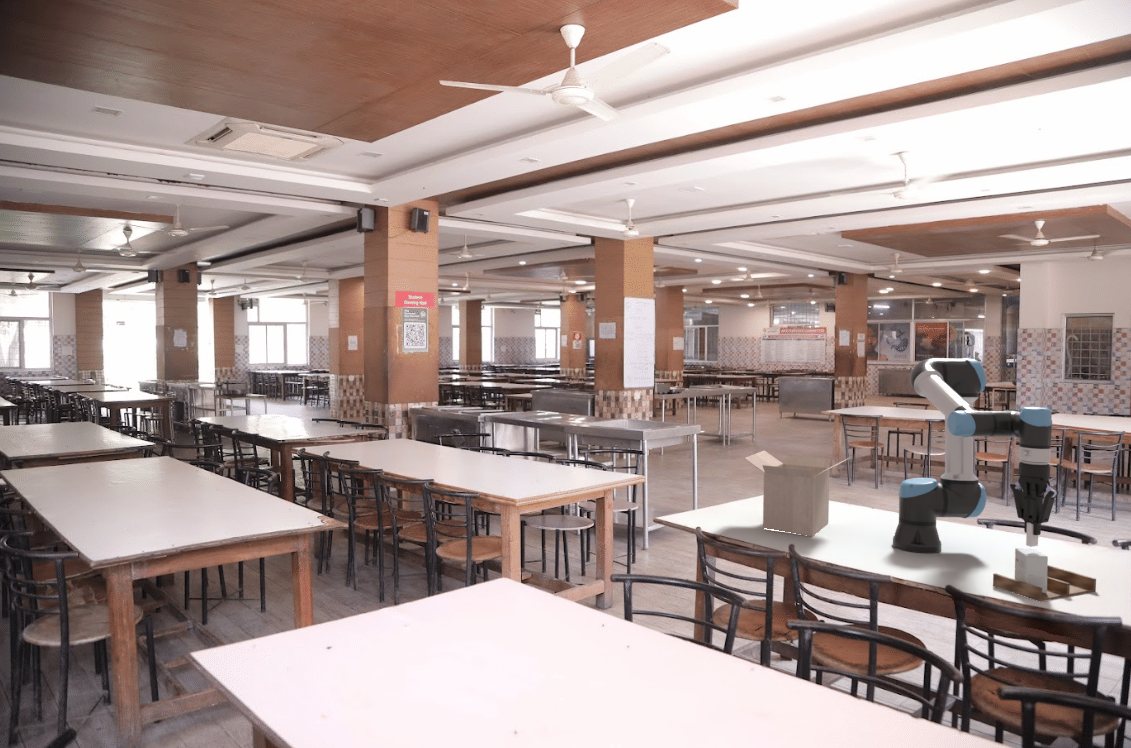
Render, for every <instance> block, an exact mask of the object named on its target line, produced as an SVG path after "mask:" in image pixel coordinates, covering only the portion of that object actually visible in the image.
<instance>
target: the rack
mask: <svg viewBox="0 0 1131 748" xmlns="http://www.w3.org/2000/svg"><path fill="white" fill-rule="evenodd" d="M992 575H993V576H992V577H993V578H992V581H993V583H992V586H993V587H995V588H998V589H1001V590H1004V591H1007V592H1010V593H1012V592H1013V594H1016V595H1018V594H1019V596H1021V595H1022V597H1024V596H1025V598H1027V597H1028V598H1027V599H1030V598H1031V600H1033V599H1034V601H1036V600H1037V601H1036V602H1039V601H1040V602H1045V601H1050V600H1056V599H1060V598H1061V599H1062V598H1066V597H1072V596H1077V595H1083V594H1088V593H1093V592H1094V593H1095V592H1096V591H1097V578H1096V577H1092V576H1088V575H1084V574H1081V573H1079V572H1078V573H1077V572H1074V571H1072V570H1067V569H1064V568H1059V567H1056V566H1053V565H1050V564H1048V567H1047V593H1042V588H1041V587H1037V586H1034V585H1031V584H1028V583H1025V582H1022V581H1019V580H1015V578H1012V577H1009V576H1006V575H1002V574H999V573H996V572H995V573H993V574H992Z"/></svg>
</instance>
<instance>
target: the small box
mask: <svg viewBox="0 0 1131 748" xmlns="http://www.w3.org/2000/svg"><path fill="white" fill-rule="evenodd" d="M1048 558H1049V556H1047V555H1046V554H1045V553H1042V552H1041V551H1039V550H1038V549H1036V548H1022V547H1021V548H1019V547H1017V548H1016V547H1015V550H1014V579H1015V580H1019V581H1022V582H1025V583H1028V584H1031V585H1034V586H1037V587H1041V588H1042V593H1047V567H1048V565H1049V564H1048V560H1049V559H1048Z"/></svg>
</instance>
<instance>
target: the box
mask: <svg viewBox="0 0 1131 748" xmlns="http://www.w3.org/2000/svg"><path fill="white" fill-rule="evenodd" d="M850 458H851V457H848V458H845V459H844V460H842V461H840V462H837V463H836V464H834V465H832V466H830V463H831V460H832V459H831V458H826V457H816V456H805V455H804V456H803V455H793V454H786V456H785V459H784V462H782V461H780V460H779V459H777V458H776V457H774V456H773V455H772V454H770V453H769V452H767V451H766V450H762V451H759V452H757V453H754V454H752V455H749V456H746V457H744V458H743V459H744V460H745V461H747V462H749V463H750V464H751V465H753V466H754V467H756V468H757V469H758V470H760V471H761V472H762V473H763V497H762V498H763V500H762V501H763V502H762V503H763V506H762V507H763V509H762V510H763V511H762V515H763V516H762V529H763V528H767V529H774V530H779V531H785V532H791V533H796V534H801V535H807V536H806V537H809V536H812V537H811V538H813V537H814V536H815V534H816V533H817V534H818V533H820V532H821V529H822V530H823V529H824V528H825V527H827V525H829V512H830V511H829V509H830V508H829V505H830V503H829V502H830V470H831V469H833V468H835V467H837V466H839V465H840V464H842V463H844V462H845V461H847V460H848V459H850ZM817 534H816V535H817ZM801 535H800V536H801Z"/></svg>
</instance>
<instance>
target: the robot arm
mask: <svg viewBox="0 0 1131 748" xmlns="http://www.w3.org/2000/svg"><path fill="white" fill-rule="evenodd" d="M985 372H986V371H985V368H984V367H983V365H982V363H981V362H980V361H978V360H976V359H974V358H965V357H962V358H961V357H960V358H959V357H957V358H955V357H954V358H951V357H950V358H949V357H948V358H942V357H941V358H938V357H937V358H936V357H935V358H934V357H931V358H927V359H924V360H921V361H920V362H917V363H916V364H915V366H913V368H912V370H911V371H910V375H909V383H910V386H911V388H912V389H913V391H914V392H915V393H916V394H917V395H919V396H920V397H924V398H926V399H927V400H928V401H929V402H930V403H931V404H932V405H933V406H934V407H935V408H936V409H937V410H938V411H939V412H940V413H941V414H943V416H944V472H943V474H941V476H939V477H940V478H939V479H940V481H938V480H937V479H936V478H932V477H913V478H907V479H904V480H903V481H902V482H900V485H899V491H898V496H899V497H898V500H899V501H898V525H897V526H896V529H895V533H894V536H893V537H892V546H893V547H894V548H896V549H899V550H902V551H906V552H907V551H908V552H913V553H923V554H924V553H925V554H931V553H933V554H934V553H938V552H941V551H942V541H941V540H940V535H939V532H938V528H937V518H962V519H967V518H978V517H979V516H980V515H981V514H982V513H983V511H984V510H985V508H986V504H987V492H986V488H985V486H984V485H983V484H982V483H980V482H979V478H978V477H977V476H976V474H975V473H974V437H978V438H979V437H980V438H981V437H984V438H985V437H986V438H987V437H991V438H992V437H994V438H995V437H996V438H997V437H998V438H1000V437H1001V438H1016V439H1019V445H1018V446H1019V447H1018V448H1019V452H1018V453H1019V454H1018V459H1019V461H1020V462H1019V463H1018V475H1019V477H1018V479H1017V481H1016V482H1015V483H1014V482H1013V483H1010V484H1009V487H1010V489H1011V491H1012V493H1013V499H1014V503H1015V504H1014V505H1015V509H1016V514H1017V518H1018V519H1021V520H1023V521H1024V522H1023V523H1024V529H1023V530H1024V533H1025V534H1026V535H1025V536H1026V538H1025V539H1026V542H1025V545H1026V546H1028V547H1029V548H1031V547H1038V545H1039V536H1040V535H1041V532H1042V529H1041V528H1042V524H1044V523H1048V522H1049V520H1050V516H1051V513H1052V509H1053V506H1054V503H1055V499H1056V497H1057V496H1058V495H1059V490H1057V489H1055V490H1054V488H1052V487H1051V483H1050V481H1049V479H1050V476H1051V465H1050V463H1051V459H1052V458H1051V456H1052V455H1051V453H1052V447H1051V446H1052V431H1053V430H1052V429H1053V420H1052V411H1051V409H1050V408H1048V407H1041V406H1040V407H1038V406H1024V407H1022V408H1021V409H1020V411H1018V410H1011V409H1008V410H1007V409H1006V410H1002V411H1000V410H998V411H997V410H993V411H992V410H987V411H986V410H977V409H976V408H975V407H974V403H975V402H976V401H977V400H978V399H979V394H980V393H982V392H983V391H985V387H986V385H987V377H986V375H987V374H986V373H985Z"/></svg>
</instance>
